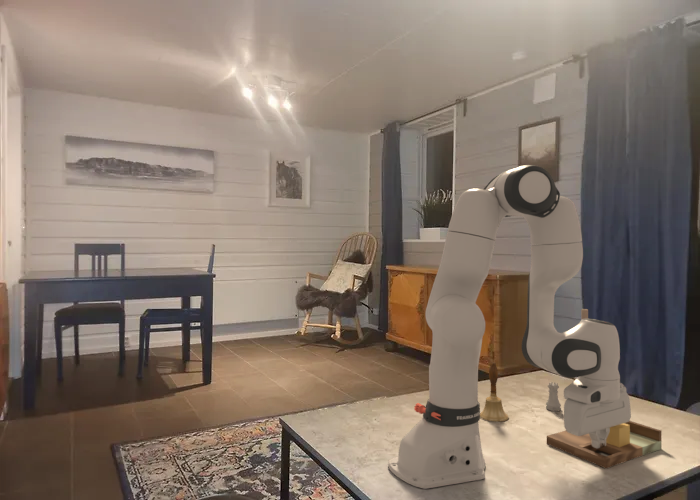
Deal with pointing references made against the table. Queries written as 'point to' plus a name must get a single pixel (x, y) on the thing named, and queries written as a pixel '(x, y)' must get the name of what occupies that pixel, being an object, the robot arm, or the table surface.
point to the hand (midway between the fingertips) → (598, 446)
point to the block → (619, 435)
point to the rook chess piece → (553, 398)
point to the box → (609, 445)
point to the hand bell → (493, 400)
